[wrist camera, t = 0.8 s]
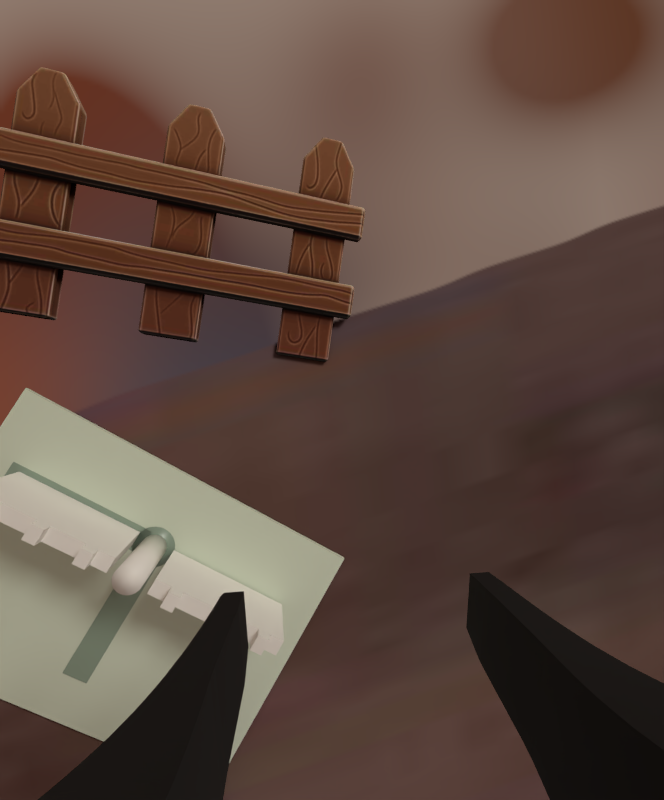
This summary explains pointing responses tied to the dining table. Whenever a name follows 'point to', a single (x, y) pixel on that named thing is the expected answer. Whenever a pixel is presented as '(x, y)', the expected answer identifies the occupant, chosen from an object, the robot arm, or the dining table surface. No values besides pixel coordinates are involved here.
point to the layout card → (92, 588)
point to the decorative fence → (168, 222)
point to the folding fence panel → (201, 590)
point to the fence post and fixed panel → (78, 531)
